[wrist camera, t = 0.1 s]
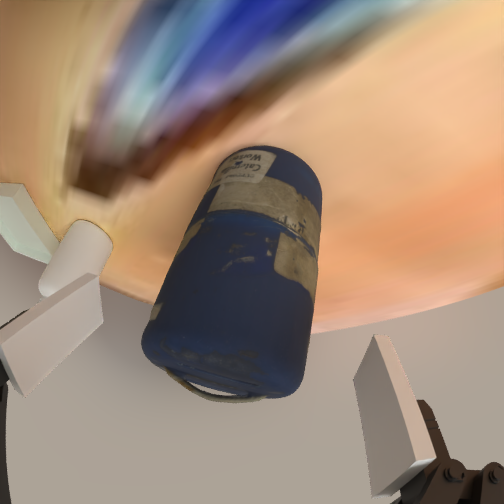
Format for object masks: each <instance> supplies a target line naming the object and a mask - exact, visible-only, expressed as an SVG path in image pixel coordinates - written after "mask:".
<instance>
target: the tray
mask: <svg viewBox="0 0 504 504" xmlns="http://www.w3.org/2000/svg"><path fill="white" fill-rule="evenodd" d="M0 234H1V235H2V236H3V238H4V239H5V241H6V242H7V243H8V244H9V245H10V247H11V248H12V249H13V250H14V251H15V252H18V253H20V254H22V255H25V256H28V257H30V258H32V259H35V260H38V261H41V262H43V263H46V264H48V263H49V261H50V260H51V258H52V256H53V254H54V253H55V251H56V249H57V248H58V246H59V244H60V243H59V241H58V240H57V238H56V237H55V235H54V234H53V232H52V231H51V229H50V228H49V226H48V225H47V223H46V222H45V220H44V219H43V217H42V215H41V214H40V212H39V211H38V209H37V207H36V206H35V204H34V202H33V200H32V199H31V197H30V195H29V194H28V192H27V190H26V188H25V186H24V185H23V184H15V183H0Z"/></svg>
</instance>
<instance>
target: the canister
mask: <svg viewBox="0 0 504 504" xmlns="http://www.w3.org/2000/svg"><path fill="white" fill-rule="evenodd" d="M321 213H322V191H321V186H320V183H319V181H318V178H317V176H316V175H315V173H314V172H313V170H312V169H311V168H310V167H309V166H308V165H307V164H306V163H305V162H304V161H303V160H302V159H300V158H299V157H297V156H296V155H294V154H293V153H291V152H288V151H286V150H283V149H280V148H276V147H271V146H253V147H248V148H244V149H241V150H239V151H237V152H235V153H233V154H232V155H230V156H229V157H227V158H226V159H225V160H224V161H223V162H222V163H221V165H220V166H219V168H218V169H217V171H216V173H215V175H214V178H213V181H212V183H211V185H210V187H209V188H208V190H207V192H206V194H205V195H204V197H203V199H202V201H201V203H200V205H199V206H198V208H197V210H196V212H195V214H194V216H193V218H192V220H191V222H190V224H189V226H188V228H187V230H186V232H185V235H184V238H183V240H182V242H181V245H180V247H179V249H178V251H177V253H176V255H175V257H174V260H173V262H172V264H171V266H170V268H169V271H168V273H167V275H166V278H165V280H164V283H163V285H162V287H161V290H160V292H159V294H158V297H157V299H156V302H155V304H154V306H153V309H152V311H151V316H150V320H149V322H148V324H147V326H146V328H145V330H144V333H143V335H142V340H141V345H142V349H143V352H144V354H145V356H146V357H147V358H148V359H149V360H150V361H151V362H152V363H153V364H155V365H156V366H158V367H159V368H161V369H163V370H164V371H166V372H167V374H168V375H169V376H170V377H172V378H173V379H174V380H175V381H177V382H178V383H180V384H181V385H182V386H184V387H185V388H186V389H188V390H189V391H191V392H193V393H195V394H197V395H199V396H201V397H203V398H205V399H208V400H211V401H216V402H228V403H244V402H254V401H259V400H261V399H264V398H282V397H286V396H288V395H291V394H293V393H294V392H295V391H296V390H297V389H298V387H299V386H300V384H301V382H302V380H303V376H304V371H305V365H306V359H307V353H308V347H309V343H310V342H309V341H310V333H311V326H312V318H313V312H314V303H315V294H316V286H317V278H318V254H319V242H320V232H321ZM188 381H189V382H192V383H195V384H198V385H201V386H204V387H207V388H211V389H215V390H218V391H222V392H226V393H231V394H236V395H232V396H223V395H216V394H211V393H208V392H205V391H202V390H200V389H198V388H196V387H195V386H193V385H192V384H190V383H189V382H188ZM240 395H241V396H240Z"/></svg>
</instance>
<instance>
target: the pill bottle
mask: <svg viewBox="0 0 504 504" xmlns="http://www.w3.org/2000/svg"><path fill="white" fill-rule="evenodd" d="M112 250H113V244H112V241H111V239H110V238H109V236H108V235H107V234H106V233H105V232H104V231H103V230H102V229H100V228H99V227H97V226H96V225H94V224H92V223H90V222H88V221H85V220H77V221H75V222H74V223H73V224H72V225H71V227H70V228H69V230H68V231H67V233H66V235H65V236H64V238H63V239H62V241H61V243H60V244H59V246H58V248H57V249H56V251H55V253H54V254H53V256H52V258H51V260H50V261H49V263H48V265H47V267H46V269H45V270H44V273H43V274H42V276H41V278H40V281H39V285H38V286H39V291H40V293H41V294H42V296H43V298H40V302H41V301H43V300H44V299H46V298H47V297H49V296H51V295H52V294H54V293H55V292H57V291H58V290H60V289H62V288H63V287H65V286H66V285H68V284H70V283H71V282H73V281H74V280H76V279H78V278H79V277H81V276H83V275H84V274H86V273H91V274H94V275H97V276H100V274H101V272H102V270H103V268H104V266H105V264H106V262H107V260H108V258H109V256H110V254H111V252H112ZM40 302H38V303H40ZM38 303H37V304H38Z"/></svg>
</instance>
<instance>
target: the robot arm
mask: <svg viewBox="0 0 504 504" xmlns="http://www.w3.org/2000/svg"><path fill="white" fill-rule="evenodd" d="M103 322H104V321H103V314H102V306H101V297H100V287H99V276H97V275H94V274H91V273H86V274H84V275H83V276H81V277H79V278H78V279H76V280H74V281H73V282H71V283H70V284H68V285H66V286H65V287H63V288H62V289H60V290H58V291H57V292H55V293H54V294H52V295H51V296H49V297H47V298H46V299H44V300H43V301H41V302H40V303H38V304H37V305H35V306H34V307H32V308H31V309H28V310H26V311H23V312H21V313H20V314H19V315H17V316H16V317H15V318H13V319H11V320H10V321H9V322H7V323H6V324H4V325H3V326H1V327H0V504H11V499H10V492H9V485H8V476H7V464H6V439H5V438H6V436H5V435H6V408H7V395H8V385H7V383H6V382H7V381H8V380H9V379H10V381H11V383H12V385H13V387H14V389H15V390H16V391H17V392H18V393H20V394H21V395H23V396H24V397H25V398H26V396H27V395H28V394H29V393H30V392H31V391H32V390H33V389H34V388H35V387H36V386H37V385H38V384H39V383H40V382H41V381H42V380H43V379H44V378H45V377H46V376H47V375H48V374H49V373H50V372H51V371H52V370H53V369H54V368H55V367H56V366H57V365H59V364H60V362H61V361H62V360H64V359H65V358H66V357H67V356H68V355H69V354H70V353H71V352H72V351H73V350H74V349H75V348H76V347H77V346H78V345H79V344H80V343H82V342H83V341H84V340H85V339H86V338H87V337H88V336H89V335H90V334H91V333H92V332H93V331H95V330H96V329H97V328H98V327H99V326H100V325H101V324H102V323H103ZM353 381H354V386H355V390H356V396H357V401H358V406H359V411H360V417H361V423H362V429H363V435H364V441H365V447H366V454H367V461H368V469H369V477H370V485H371V494H372V498H381V497H388V496H392V495H393V494H394V493H395V492H397V491H398V490H400V493H401V496H400V497H399V498H398V499H396V500H395V501H393V502H392V503H390V504H504V467H503V466H501V464H499V463H497V462H491V463H489V464H487V465H486V466H485V467H484V468H483V469H482V470H481V471H480V470H466V468H465V467H464V465H463V464H462V463H461V462H459V461H458V460H455V459H451V458H450V456H449V453H448V450H447V448H446V445H445V442H444V440H443V437H442V434H441V432H440V429H438V427H439V426H438V424H437V421H435V416H434V414H433V411H432V409H431V408H430V406H429V405H428V404H427V403H426V402H425V401H424V400H416V398H415V396H414V393H413V391H412V388H411V386H410V383H409V381H408V379H407V376H406V374H405V372H404V369H403V367H402V365H401V362H400V360H399V358H398V356H397V354H396V351H395V349H394V347H393V345H392V343H391V340H390V338H389V336H383V335H373V337H372V340H371V342H370V345H369V347H368V349H367V351H366V353H365V356H364V358H363V360H362V362H361V364H360V366H359V368H358V371H357V373H356V375H355V377H354V379H353Z"/></svg>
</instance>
